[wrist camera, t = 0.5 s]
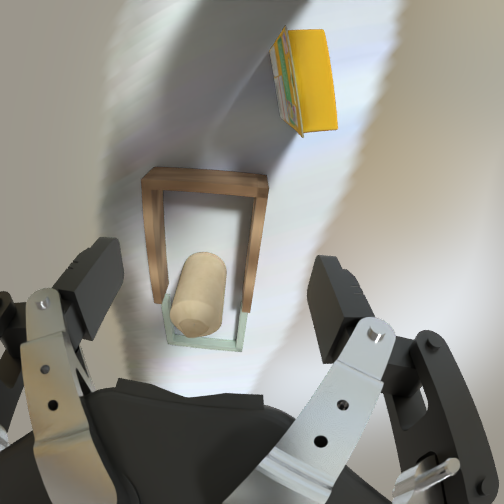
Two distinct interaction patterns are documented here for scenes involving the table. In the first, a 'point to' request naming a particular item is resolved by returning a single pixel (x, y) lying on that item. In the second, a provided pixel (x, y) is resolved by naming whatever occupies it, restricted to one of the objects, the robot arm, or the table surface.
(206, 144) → the table surface
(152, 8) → the table surface
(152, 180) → the cubby
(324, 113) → the crayon box
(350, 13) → the table surface
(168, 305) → the mint green u-bracket
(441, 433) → the robot arm
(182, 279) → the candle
